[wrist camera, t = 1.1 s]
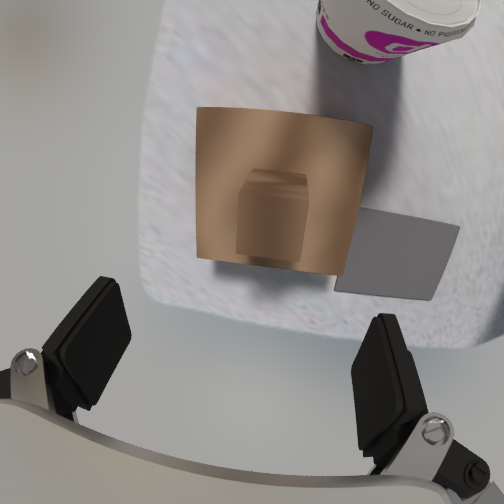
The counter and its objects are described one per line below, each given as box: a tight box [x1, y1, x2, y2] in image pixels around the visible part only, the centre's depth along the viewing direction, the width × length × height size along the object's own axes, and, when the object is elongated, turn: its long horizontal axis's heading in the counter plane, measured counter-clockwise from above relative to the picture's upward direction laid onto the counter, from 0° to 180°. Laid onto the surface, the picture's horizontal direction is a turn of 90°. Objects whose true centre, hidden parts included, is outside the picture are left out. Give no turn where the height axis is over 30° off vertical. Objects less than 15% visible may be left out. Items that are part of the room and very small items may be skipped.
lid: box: [196, 107, 373, 276], centre depth 20 cm, size 13×13×7 cm
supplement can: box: [316, 0, 482, 64], centre depth 13 cm, size 8×8×15 cm
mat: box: [334, 207, 460, 300], centre depth 30 cm, size 13×10×1 cm
